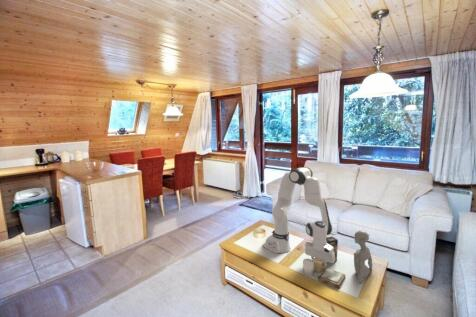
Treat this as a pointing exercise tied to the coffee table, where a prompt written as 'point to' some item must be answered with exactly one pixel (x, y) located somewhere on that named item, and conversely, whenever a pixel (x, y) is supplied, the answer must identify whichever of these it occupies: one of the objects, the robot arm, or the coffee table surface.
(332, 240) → the coffee box
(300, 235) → the coffee table surface
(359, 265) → the elf figurine
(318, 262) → the carton
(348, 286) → the coffee table surface
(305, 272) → the white rounded cylinder
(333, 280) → the wooden picture frame
